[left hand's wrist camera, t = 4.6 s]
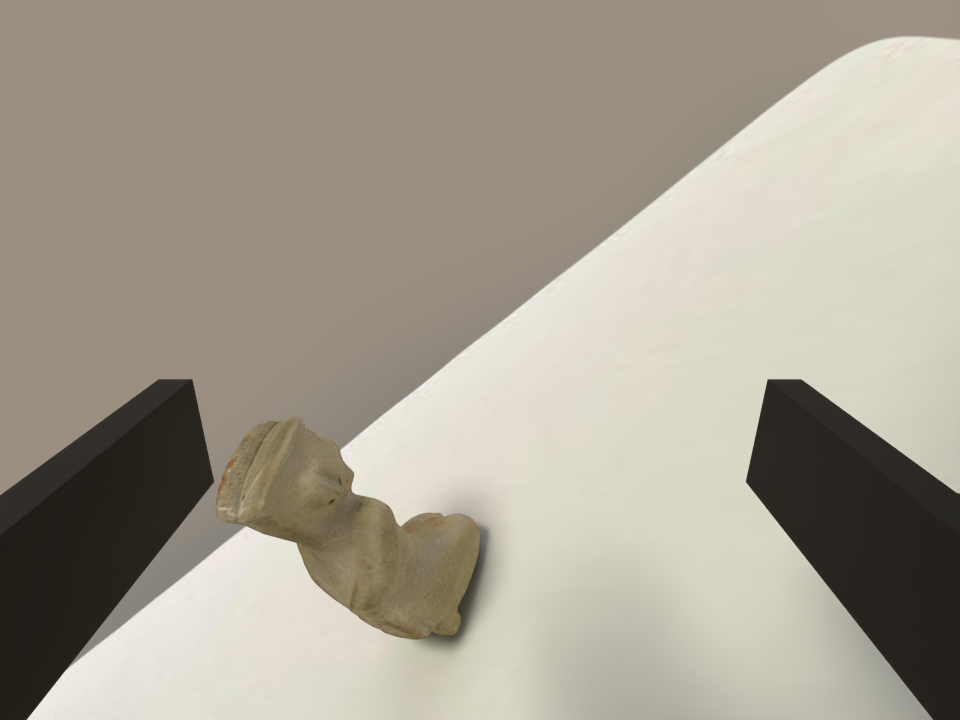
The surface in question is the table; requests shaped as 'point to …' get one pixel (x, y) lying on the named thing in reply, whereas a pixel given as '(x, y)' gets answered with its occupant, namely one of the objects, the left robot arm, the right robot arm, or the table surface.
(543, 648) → the table surface
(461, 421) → the table surface
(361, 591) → the sculpture
